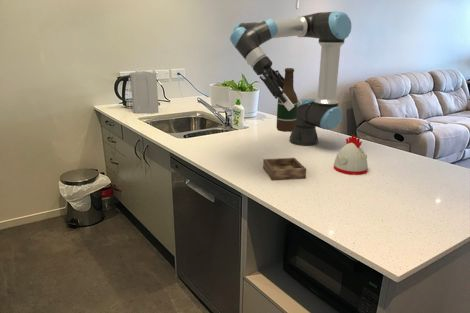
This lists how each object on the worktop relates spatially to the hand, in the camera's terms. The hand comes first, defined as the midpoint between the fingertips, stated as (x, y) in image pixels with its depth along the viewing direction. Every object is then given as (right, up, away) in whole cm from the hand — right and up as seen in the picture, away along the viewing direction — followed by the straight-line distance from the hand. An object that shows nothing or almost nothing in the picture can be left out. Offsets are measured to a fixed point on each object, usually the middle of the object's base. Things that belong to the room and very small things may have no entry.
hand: (295, 106), depth 140 cm
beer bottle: (-3, -9, +5) cm, 10 cm away
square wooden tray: (-3, -26, +11) cm, 28 cm away
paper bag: (-91, +13, +124) cm, 154 cm away
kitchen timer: (+26, -25, +16) cm, 40 cm away
